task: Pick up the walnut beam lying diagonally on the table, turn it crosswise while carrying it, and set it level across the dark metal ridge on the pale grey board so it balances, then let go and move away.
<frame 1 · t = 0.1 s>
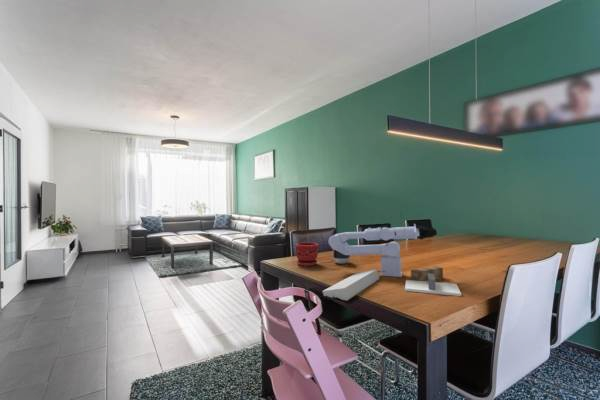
hand: (435, 231, 137), 22 cm above the table, tool horizontal, fingers open, 7 cm apart
plant pot: (307, 264, 169), on the table
decorative molding: (353, 288, 126), on the table
dark grey rounded shape: (341, 263, 171), on the table
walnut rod: (427, 279, 135), on the table
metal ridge: (431, 281, 121), on the grey board, point 3 cm above the table
grey board: (431, 288, 121), on the table
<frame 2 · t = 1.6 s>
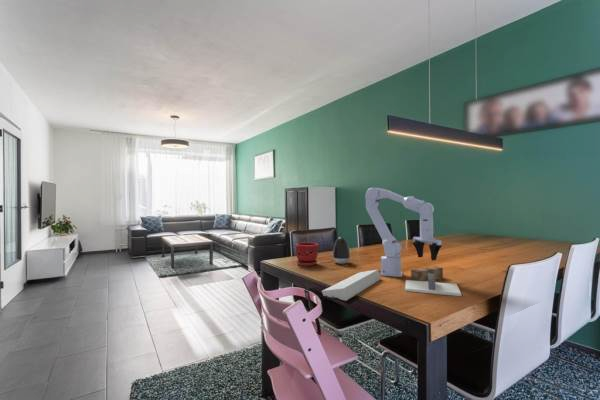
hand: (426, 258, 135), 9 cm above the table, tool pointing down, fingers open, 7 cm apart
nothing on the table moved.
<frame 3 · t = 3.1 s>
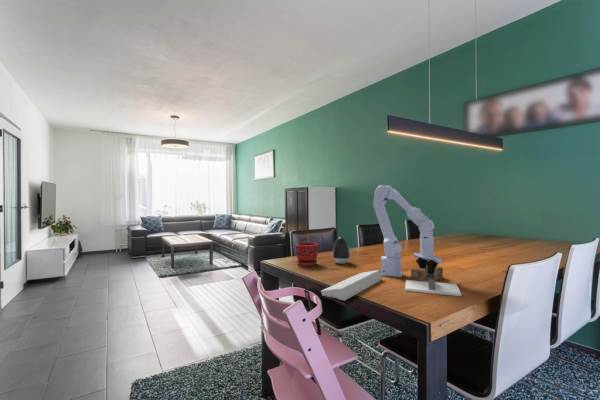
hand: (427, 275, 135), 2 cm above the table, tool pointing down, fingers closed on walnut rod, 3 cm apart
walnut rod: (427, 279, 135), on the table, touching gripper
everything else where it was.
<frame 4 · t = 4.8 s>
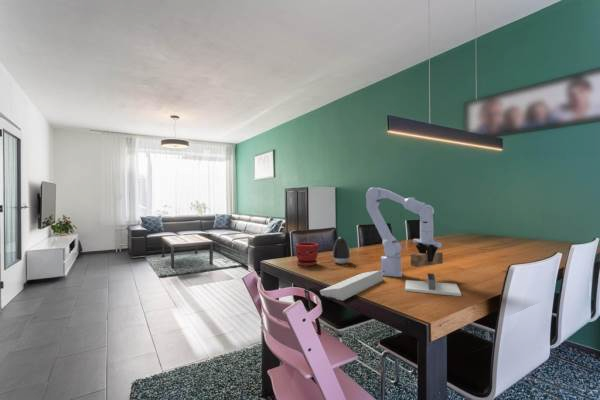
hand: (426, 260, 135), 8 cm above the table, tool pointing down, fingers closed on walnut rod, 3 cm apart
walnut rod: (426, 264, 135), point 7 cm above the table, touching gripper
when the fingers open (8 cm above the table, at t = 7.1 s): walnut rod stays where it is, resting on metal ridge.
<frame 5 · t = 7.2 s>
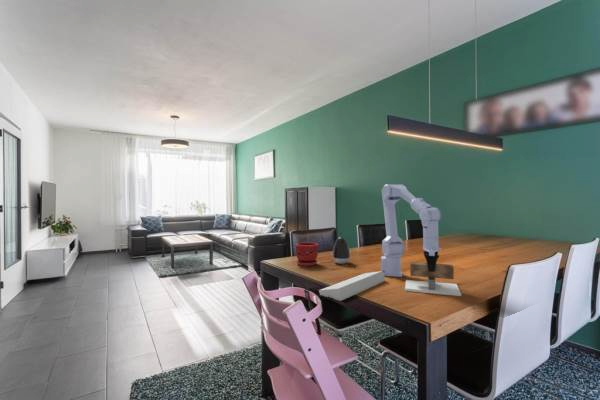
hand: (431, 270, 121), 8 cm above the table, tool pointing down, fingers open, 4 cm apart
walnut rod: (431, 276, 121), point 5 cm above the table, touching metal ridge
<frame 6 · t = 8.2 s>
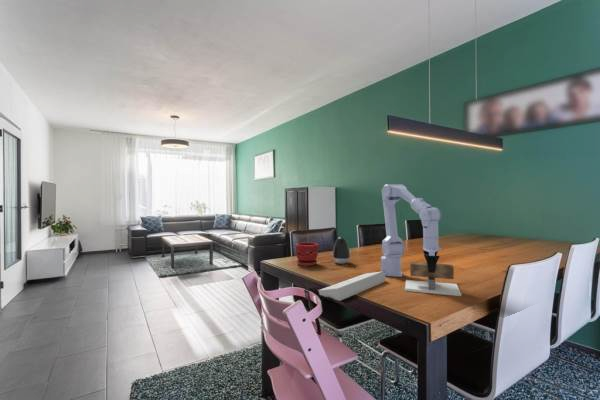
hand: (431, 270, 121), 8 cm above the table, tool pointing down, fingers open, 7 cm apart
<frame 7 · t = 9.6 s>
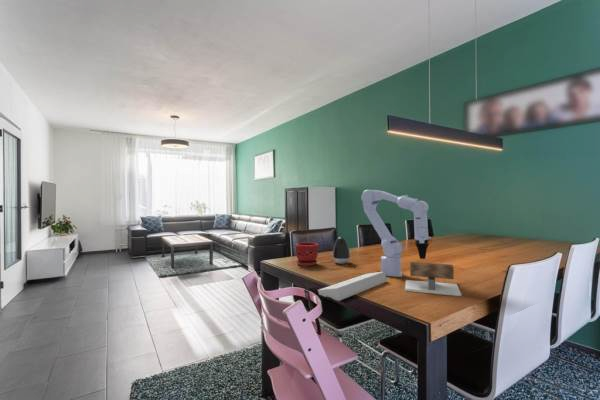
hand: (422, 257, 134), 10 cm above the table, tool pointing down, fingers open, 7 cm apart
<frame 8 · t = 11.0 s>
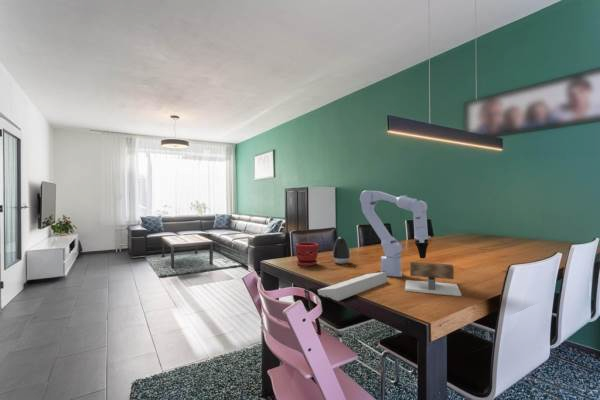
hand: (422, 256, 135), 10 cm above the table, tool pointing down, fingers open, 7 cm apart
at the end: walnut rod 0.0 cm off-centre on the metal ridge, point 5.0 cm above the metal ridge's base; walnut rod tilted 0°; the gripper is holding nothing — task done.
